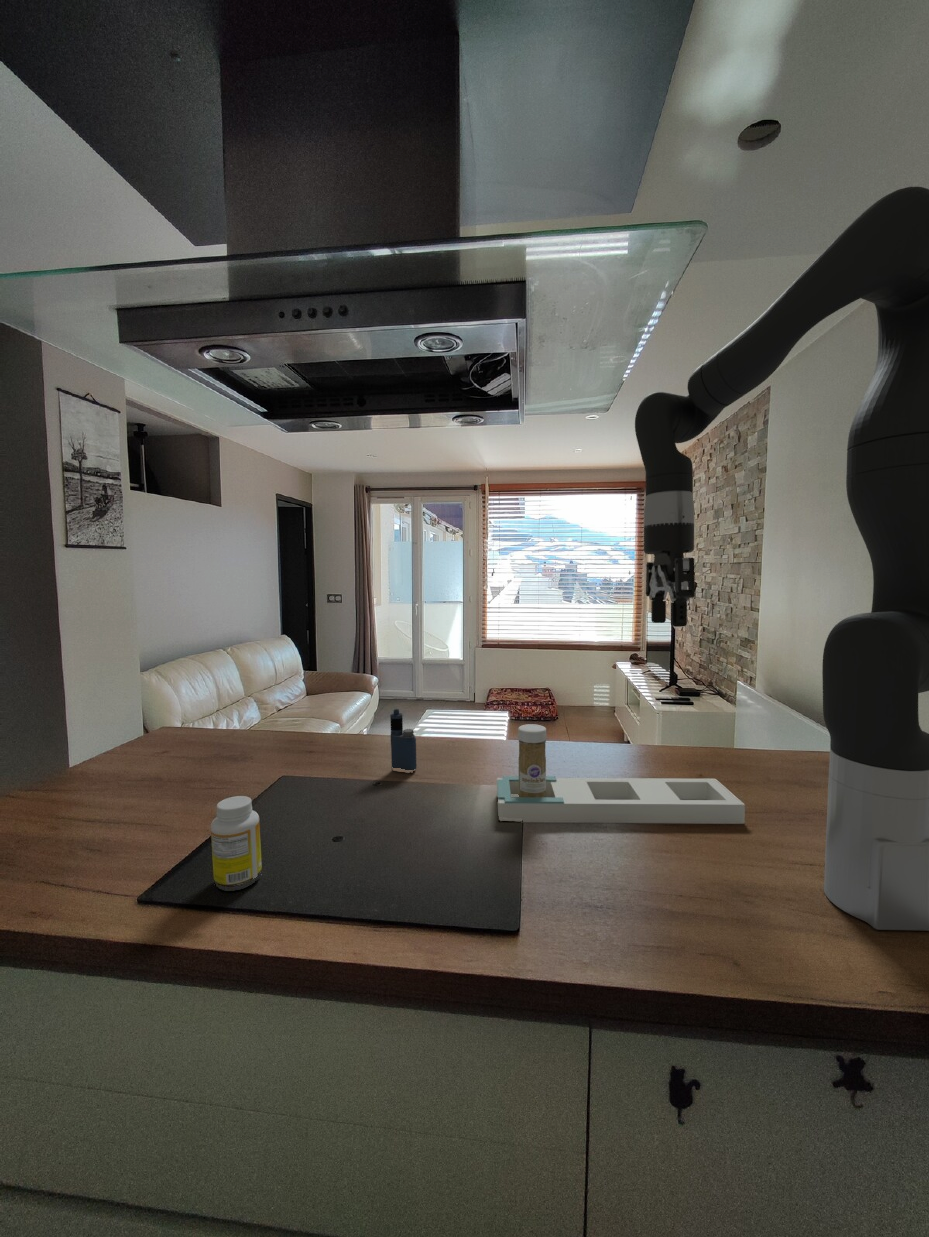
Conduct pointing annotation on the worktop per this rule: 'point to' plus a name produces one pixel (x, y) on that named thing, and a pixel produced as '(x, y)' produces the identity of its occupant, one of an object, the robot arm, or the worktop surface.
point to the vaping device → (402, 744)
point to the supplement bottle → (235, 842)
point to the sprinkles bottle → (532, 760)
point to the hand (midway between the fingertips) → (668, 624)
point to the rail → (622, 801)
